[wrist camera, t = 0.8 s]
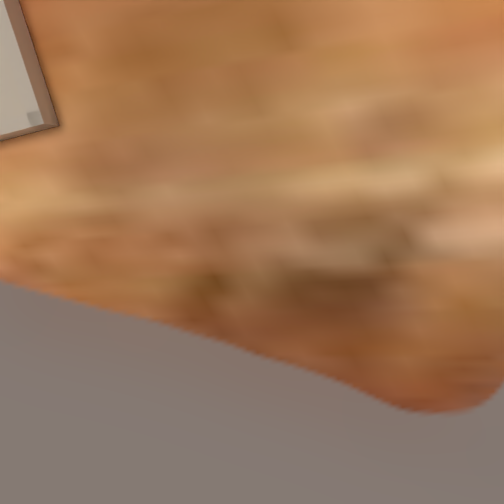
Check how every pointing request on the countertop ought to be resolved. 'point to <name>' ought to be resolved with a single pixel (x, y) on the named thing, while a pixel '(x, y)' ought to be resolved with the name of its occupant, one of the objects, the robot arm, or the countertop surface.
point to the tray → (21, 78)
